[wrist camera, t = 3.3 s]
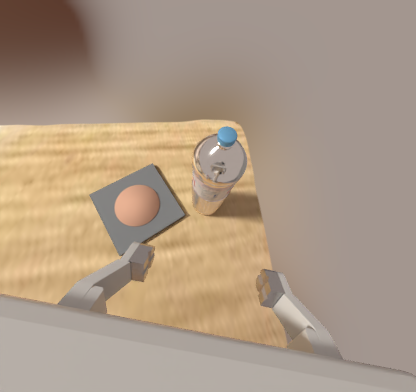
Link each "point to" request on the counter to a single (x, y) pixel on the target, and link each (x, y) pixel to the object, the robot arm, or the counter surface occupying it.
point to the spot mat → (136, 207)
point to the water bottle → (216, 169)
